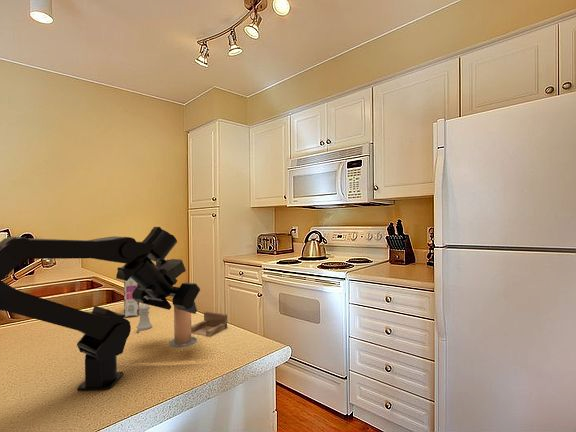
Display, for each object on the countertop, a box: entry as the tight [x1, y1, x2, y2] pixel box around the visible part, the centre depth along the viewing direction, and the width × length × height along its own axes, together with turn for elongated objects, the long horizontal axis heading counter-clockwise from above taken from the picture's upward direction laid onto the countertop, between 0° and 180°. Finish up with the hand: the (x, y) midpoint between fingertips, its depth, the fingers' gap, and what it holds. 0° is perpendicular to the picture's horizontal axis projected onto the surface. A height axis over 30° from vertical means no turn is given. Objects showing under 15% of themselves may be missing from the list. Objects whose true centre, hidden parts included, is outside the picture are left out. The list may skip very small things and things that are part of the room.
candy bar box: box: [123, 277, 140, 318], centre depth 118 cm, size 11×5×16 cm, turn 25°
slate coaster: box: [169, 336, 198, 348], centre depth 87 cm, size 7×7×1 cm
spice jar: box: [173, 305, 192, 344], centre depth 87 cm, size 5×5×11 cm
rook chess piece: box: [136, 303, 153, 334], centre depth 99 cm, size 4×4×8 cm
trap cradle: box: [191, 311, 228, 338], centre depth 96 cm, size 8×8×5 cm
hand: (182, 310), depth 87 cm, fingers open, 9 cm apart
